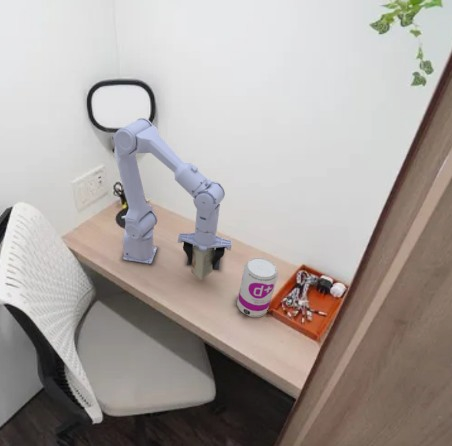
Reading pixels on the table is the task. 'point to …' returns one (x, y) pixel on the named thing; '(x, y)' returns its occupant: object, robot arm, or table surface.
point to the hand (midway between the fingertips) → (201, 263)
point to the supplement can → (257, 287)
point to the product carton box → (202, 261)
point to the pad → (215, 265)
